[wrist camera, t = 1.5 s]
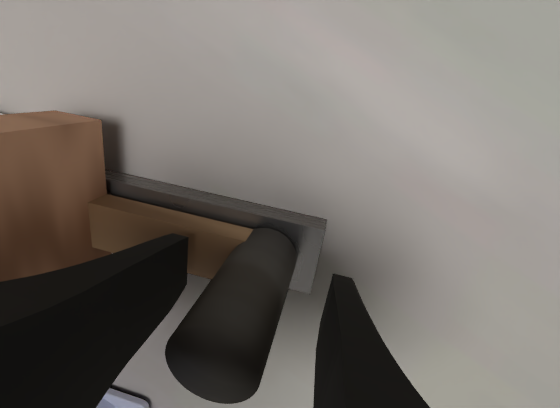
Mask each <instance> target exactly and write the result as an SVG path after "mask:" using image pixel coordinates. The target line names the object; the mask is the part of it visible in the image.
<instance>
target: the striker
mask: <svg viewBox="0 0 560 408" xmlns="http://www.w3.org/2000/svg"><path fill="white" fill-rule="evenodd" d="M172 233H174V234H178V235H182V236H186V237H189V238H188V263H187V273H190V274H193V275H197V276H201V277H204V278H208V279H212V280H211V281H210V283H209V284H208V285H207V287H206V288H205V290H204V291H203V292H202V294H201V295H200V297H199V298H198V299H197V301H196V302H195V304H194V305H193V306H192V308H191V309H190V311H189V312H188V313H187V315H186V316H185V318H184V319H183V320H182V322H181V323H180V324H179V326H178V327H177V329H176V330H175V331H174V333H173V334H172V336H171V337H170V338H169V340H168V342H167V345H166V349H165V356H166V361H167V364H168V367H169V369H170V371H171V372H172V374H173V375H174V377H175V378H176V379H177V380H178V381H179V382H180V383H181V384H182V385H183V386H184V387H185V388H186V389H188V390H189V391H190V392H192V393H194V394H195V395H197V396H199V397H201V398H203V399H206V400H209V401H212V402H217V403H224V404H232V403H238V402H242V401H245V400H247V399H249V398H250V397H251V396H253V395H254V394H255V392H256V391H257V389H258V388H259V385H260V382H261V378H262V375H263V372H264V368H265V365H266V362H267V358H268V355H269V352H270V348H271V345H272V342H273V339H274V335H275V332H276V329H277V325H278V322H279V319H280V315H281V312H282V309H283V305H284V302H285V299H286V295H287V292H288V289H289V286H290V282H291V279H292V276H293V272H294V269H295V266H296V261H297V255H296V251H295V248H294V246H293V244H292V243H291V241H290V240H289V239H288V238H287V237H286V236H285V235H283V234H282V233H280V232H278V231H276V230H273V229H270V228H257V229H250V228H246V227H242V226H238V225H233V224H229V223H225V222H221V221H217V220H213V219H208V218H204V217H200V216H196V215H192V214H188V213H183V212H179V211H175V210H171V209H167V208H163V207H159V206H154V205H150V204H146V203H142V202H138V201H134V200H129V199H125V198H121V197H117V196H113V195H109V194H107V190H106V176H105V163H104V149H103V136H102V122H101V120H99V119H94V118H89V117H84V116H79V115H74V114H69V113H64V112H59V111H44V112H31V113H18V114H4V115H0V282H2V281H7V280H13V279H18V278H23V277H29V276H33V275H38V274H42V273H46V272H51V271H55V270H59V269H63V268H67V267H70V266H74V265H77V264H81V263H84V262H87V261H91V260H94V259H97V258H100V257H103V256H106V255H109V254H111V252H112V253H116V252H119V251H121V250H124V249H127V248H130V247H133V246H136V245H138V244H141V243H144V242H147V241H150V240H152V239H155V238H158V237H161V236H164V235H168V234H172Z"/></svg>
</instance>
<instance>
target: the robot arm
mask: <svg viewBox="0 0 560 408" xmlns="http://www.w3.org/2000/svg"><path fill="white" fill-rule="evenodd" d="M188 238H189V237H186V236H182V235H178V234H174V233H172V234H168V235H164V236H161V237H158V238H155V239H152V240H150V241H147V242H144V243H141V244H138V245H136V246H133V247H130V248H127V249H124V250H121V251H119V252H116V253H113V254H109V255H106V256H103V257H100V258H97V259H94V260H91V261H87V262H84V263H81V264H77V265H74V266H70V267H67V268H63V269H59V270H55V271H51V272H46V273H42V274H38V275H33V276H29V277H23V278H18V279H13V280H7V281H2V282H0V408H149V404H148V403H147V402H146V401H145V400H143V399H141V398H138V397H135V396H132V395H129V394H126V393H123V392H120V391H117V390H114V389H111V388H110V386H111V385H112V383H113V382H114V380H115V379H116V378H117V376H118V375H119V373H120V372H121V371H122V369H123V368H124V367H125V365H126V364H127V363H128V362H129V360H130V359H131V358H132V357H133V356H134V354H135V353H136V352H137V351H138V349H139V348H140V347H141V346H142V345H143V343H144V342H145V341H146V340H147V338H148V337H149V336H150V335H151V334H152V332H153V331H154V330H155V329H156V328H157V326H158V325H159V324H160V323H161V321H162V320H163V319H164V318H165V316H166V315H167V314H168V313H169V311H170V310H171V309H172V307H173V306H174V304H175V303H176V301H177V300H178V298H179V296H180V295H181V293H182V291H183V290H184V288H185V286H186V285H187V263H188ZM313 408H430V407H429V406H428V405H427V403H426V402H425V401H424V400H423V398H422V397H421V396H420V394H419V393H418V392H417V391H416V389H415V388H414V387H413V385H412V384H411V382H410V381H409V380H408V378H407V377H406V375H405V374H404V373H403V371H402V370H401V369H400V367H399V366H398V364H397V363H396V361H395V359H394V358H393V356H392V355H391V353H390V351H389V350H388V348H387V347H386V345H385V343H384V342H383V340H382V338H381V336H380V335H379V333H378V331H377V329H376V327H375V325H374V324H373V322H372V320H371V318H370V316H369V314H368V312H367V310H366V308H365V306H364V304H363V302H362V299H361V297H360V295H359V293H358V290H357V288H356V286H355V283H354V281H353V279H352V278H349V277H345V276H341V275H337V274H333V276H332V280H331V284H330V288H329V291H328V295H327V299H326V303H325V306H324V310H323V314H322V318H321V322H320V328H319V334H318V341H317V347H316V363H315V385H314V407H313Z"/></svg>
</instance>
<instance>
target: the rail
mask: <svg viewBox="0 0 560 408" xmlns="http://www.w3.org/2000/svg"><path fill="white" fill-rule="evenodd" d="M105 176H106V190H107V194H109V195H113V196H117V197H121V198H125V199H129V200H134V201H138V202H142V203H146V204H150V205H154V206H159V207H163V208H167V209H171V210H175V211H179V212H183V213H188V214H192V215H196V216H200V217H204V218H208V219H213V220H217V221H221V222H225V223H229V224H233V225H238V226H242V227H246V228H250V229H257V228H270V229H273V230H276V231H278V232H280V233H282V234H283V235H285V236H286V237H287V238H288V239H289V240H290V241H291V243H292V244H293V246H294V248H295V251H296V255H297V261H296V266H295V269H294V272H293V276H292V279H291V282H290V286H289V289H292V290H295V291H299V292H303V293H307V294H310V292H311V288H312V284H313V280H314V276H315V271H316V267H317V263H318V259H319V255H320V250H321V246H322V242H323V238H324V233H325V229H326V223H327V220H325V219H321V218H317V217H312V216H308V215H303V214H299V213H295V212H290V211H286V210H281V209H277V208H273V207H268V206H264V205H260V204H255V203H251V202H246V201H242V200H238V199H233V198H229V197H224V196H220V195H216V194H211V193H207V192H203V191H198V190H194V189H189V188H185V187H181V186H176V185H172V184H167V183H163V182H159V181H154V180H150V179H145V178H141V177H137V176H132V175H128V174H124V173H119V172H115V171H110V170H106V169H105Z"/></svg>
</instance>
